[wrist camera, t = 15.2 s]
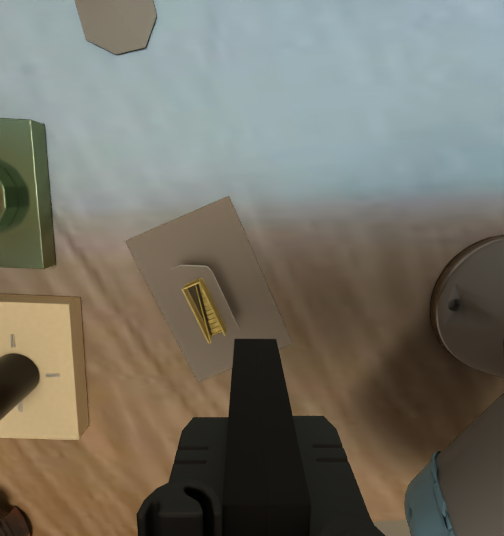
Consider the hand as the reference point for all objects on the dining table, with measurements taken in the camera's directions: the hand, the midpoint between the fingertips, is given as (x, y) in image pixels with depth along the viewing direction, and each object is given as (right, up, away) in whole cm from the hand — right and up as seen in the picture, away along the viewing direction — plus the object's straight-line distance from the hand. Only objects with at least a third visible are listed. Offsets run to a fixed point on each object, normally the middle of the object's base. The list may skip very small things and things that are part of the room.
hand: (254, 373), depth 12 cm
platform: (-4, +1, +25) cm, 25 cm away
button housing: (-26, +11, +22) cm, 36 cm away
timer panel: (-25, -7, +26) cm, 37 cm away
